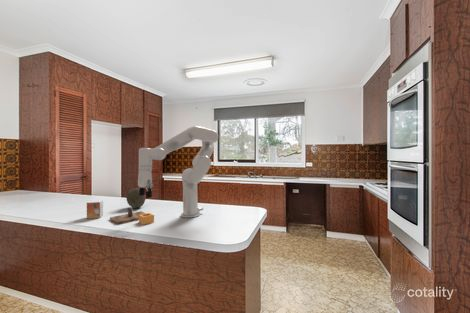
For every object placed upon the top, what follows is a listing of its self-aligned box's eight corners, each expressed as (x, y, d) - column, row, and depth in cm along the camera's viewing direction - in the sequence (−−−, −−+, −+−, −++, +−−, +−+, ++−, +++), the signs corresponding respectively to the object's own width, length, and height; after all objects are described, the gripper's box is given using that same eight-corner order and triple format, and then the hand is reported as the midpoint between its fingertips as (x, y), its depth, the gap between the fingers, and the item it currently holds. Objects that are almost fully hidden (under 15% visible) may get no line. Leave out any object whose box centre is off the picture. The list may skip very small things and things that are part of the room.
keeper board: (141, 213, 155) (141, 203, 155) (150, 217, 145) (150, 206, 145) (109, 219, 141) (109, 208, 141) (117, 224, 131) (117, 212, 131)
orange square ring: (149, 219, 140) (149, 212, 140) (154, 222, 136) (154, 214, 136) (138, 222, 136) (138, 214, 135) (143, 224, 131) (143, 217, 131)
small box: (86, 218, 143) (86, 202, 143) (90, 216, 149) (90, 200, 148) (100, 218, 145) (99, 202, 145) (103, 215, 150) (103, 200, 150)
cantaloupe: (150, 206, 174) (149, 187, 173) (133, 211, 162) (133, 190, 162) (138, 204, 181) (138, 186, 181) (122, 208, 169) (121, 188, 169)
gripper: (133, 167, 138) (133, 195, 138) (145, 169, 126) (145, 199, 126) (145, 167, 144) (145, 193, 144) (158, 168, 131) (157, 197, 132)
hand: (145, 196), depth 135 cm, fingers open, 9 cm apart
